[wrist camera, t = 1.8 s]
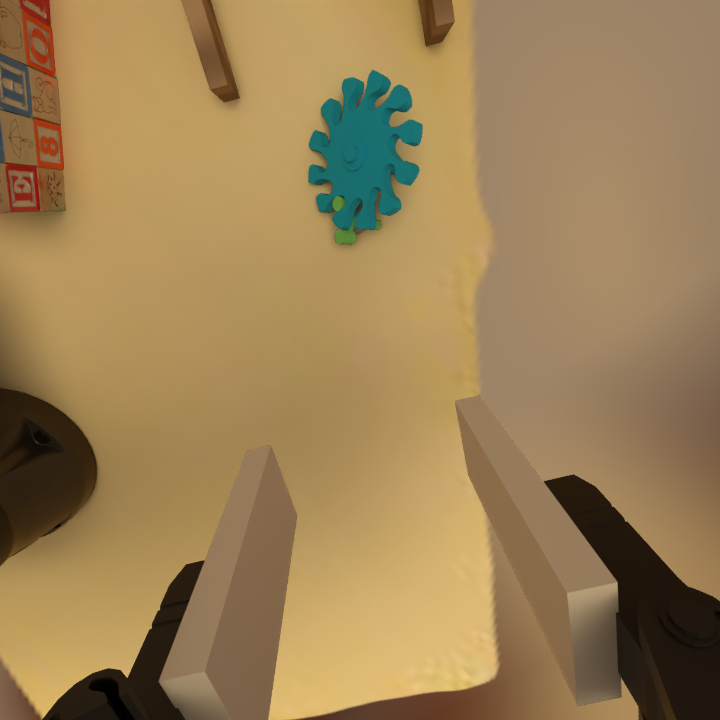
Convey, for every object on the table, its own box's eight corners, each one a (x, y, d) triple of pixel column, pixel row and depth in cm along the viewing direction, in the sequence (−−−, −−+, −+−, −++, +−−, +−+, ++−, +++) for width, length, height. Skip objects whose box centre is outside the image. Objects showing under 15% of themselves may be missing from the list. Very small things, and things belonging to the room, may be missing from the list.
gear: (320, 57, 29) (433, 79, 23) (376, 85, 33) (482, 109, 28) (287, 218, 34) (374, 266, 28) (339, 224, 38) (423, 267, 33)
